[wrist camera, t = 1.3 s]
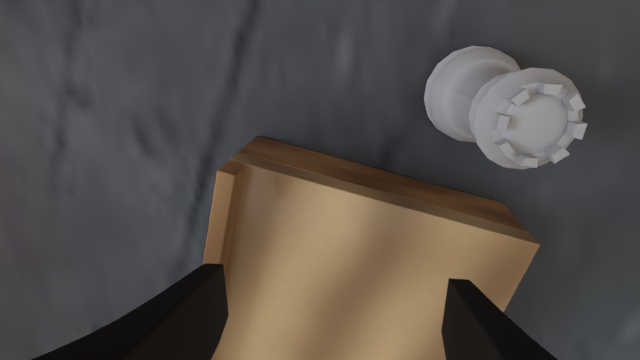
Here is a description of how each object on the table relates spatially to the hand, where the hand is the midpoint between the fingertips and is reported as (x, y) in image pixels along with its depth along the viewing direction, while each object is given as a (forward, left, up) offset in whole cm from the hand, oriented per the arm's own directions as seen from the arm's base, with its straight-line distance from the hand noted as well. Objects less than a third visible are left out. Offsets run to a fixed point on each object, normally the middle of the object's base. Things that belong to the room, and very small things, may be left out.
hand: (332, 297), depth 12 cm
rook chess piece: (-4, -7, -10) cm, 13 cm away
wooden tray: (-1, +6, -10) cm, 12 cm away
